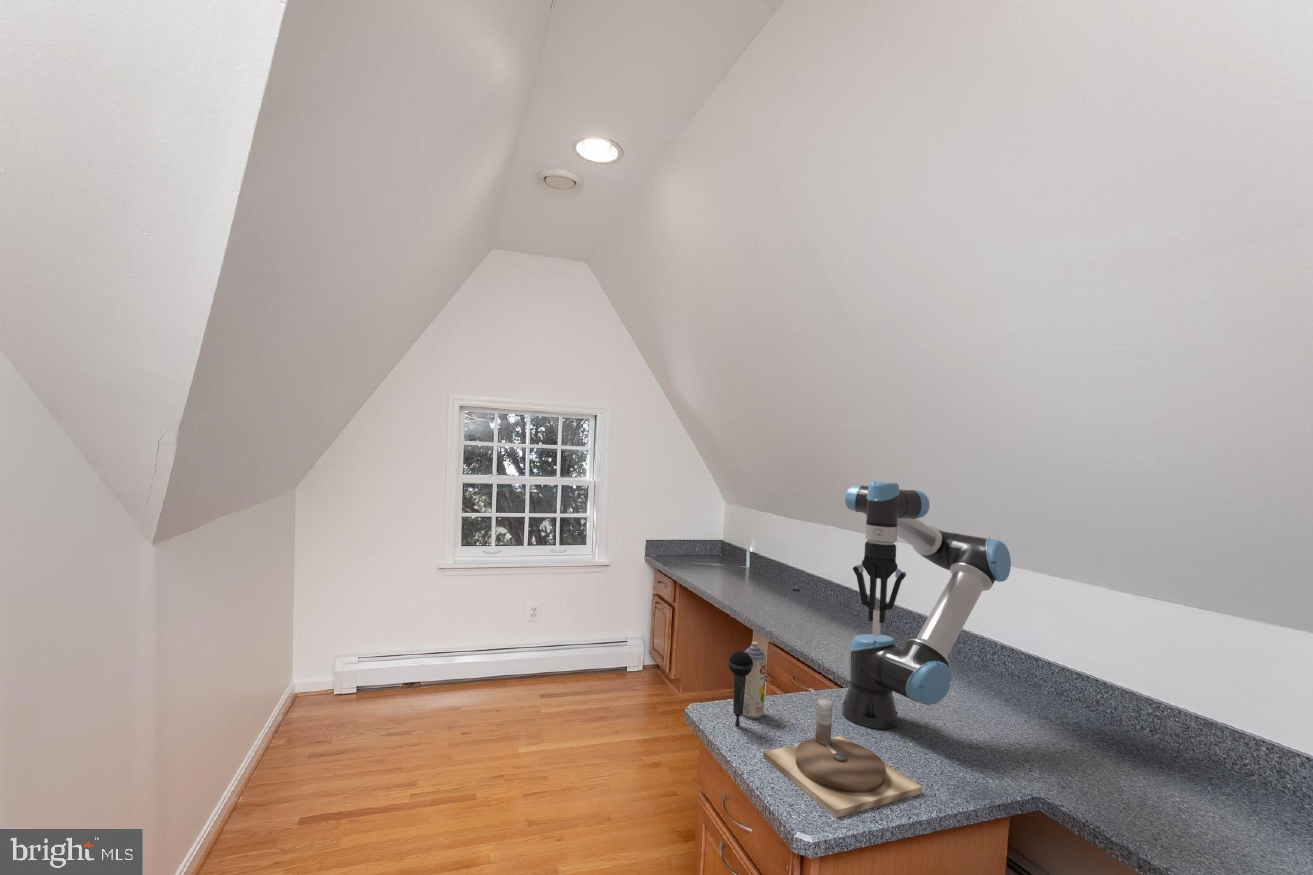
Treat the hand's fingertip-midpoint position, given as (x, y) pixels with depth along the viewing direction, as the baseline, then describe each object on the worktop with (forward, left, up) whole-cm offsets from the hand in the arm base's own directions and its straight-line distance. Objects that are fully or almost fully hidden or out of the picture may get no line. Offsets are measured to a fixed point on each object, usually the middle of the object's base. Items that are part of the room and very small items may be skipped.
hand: (876, 634), depth 151 cm
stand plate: (+16, +6, -29) cm, 34 cm away
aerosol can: (+17, -28, -30) cm, 44 cm away
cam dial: (+16, +6, -28) cm, 32 cm away
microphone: (+25, -23, -30) cm, 45 cm away
